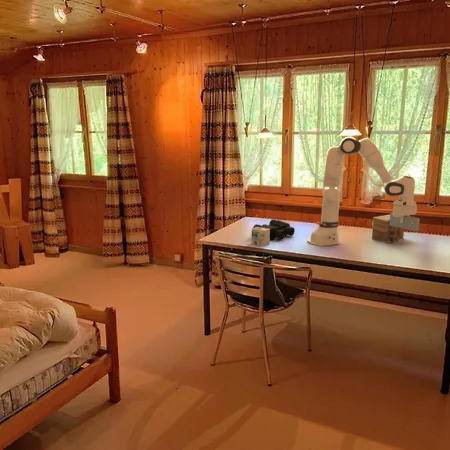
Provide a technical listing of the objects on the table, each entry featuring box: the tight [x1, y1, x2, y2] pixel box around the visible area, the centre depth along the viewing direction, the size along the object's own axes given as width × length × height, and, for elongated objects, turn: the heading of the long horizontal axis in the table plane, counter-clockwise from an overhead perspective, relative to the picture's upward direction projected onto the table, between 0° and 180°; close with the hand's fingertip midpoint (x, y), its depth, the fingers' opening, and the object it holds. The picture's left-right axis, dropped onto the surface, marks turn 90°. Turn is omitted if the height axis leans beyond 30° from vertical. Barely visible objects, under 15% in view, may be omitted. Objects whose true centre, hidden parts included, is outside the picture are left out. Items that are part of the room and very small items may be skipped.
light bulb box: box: [250, 227, 270, 247], centre depth 295 cm, size 11×7×11 cm, turn 56°
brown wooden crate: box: [371, 214, 405, 243], centre depth 306 cm, size 20×15×15 cm
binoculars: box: [252, 219, 296, 241], centre depth 315 cm, size 29×20×10 cm
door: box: [389, 212, 421, 232], centre depth 287 cm, size 20×4×8 cm, turn 33°
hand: (404, 222), depth 287 cm, fingers closed on door, 2 cm apart
